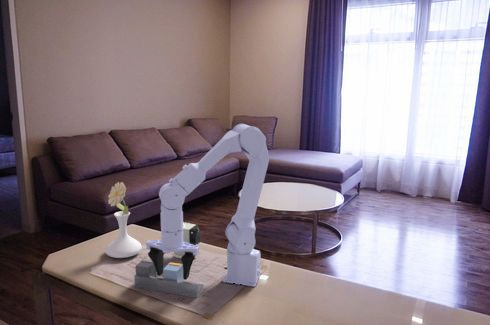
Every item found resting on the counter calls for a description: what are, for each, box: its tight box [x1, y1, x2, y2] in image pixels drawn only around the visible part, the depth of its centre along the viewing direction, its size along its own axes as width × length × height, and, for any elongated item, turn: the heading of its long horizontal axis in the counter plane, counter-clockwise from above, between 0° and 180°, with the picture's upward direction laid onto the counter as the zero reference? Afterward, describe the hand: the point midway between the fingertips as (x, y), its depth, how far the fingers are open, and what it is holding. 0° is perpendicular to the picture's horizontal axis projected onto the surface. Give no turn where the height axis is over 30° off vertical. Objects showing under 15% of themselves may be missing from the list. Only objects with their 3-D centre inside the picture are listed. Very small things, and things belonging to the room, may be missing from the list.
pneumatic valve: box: [173, 221, 203, 259], centre depth 115 cm, size 6×12×12 cm, turn 70°
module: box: [162, 262, 184, 282], centre depth 97 cm, size 4×4×5 cm
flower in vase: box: [104, 181, 143, 259], centre depth 114 cm, size 13×11×25 cm
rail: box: [134, 258, 205, 298], centre depth 97 cm, size 18×5×6 cm, turn 76°
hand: (173, 275), depth 97 cm, fingers open, 7 cm apart
